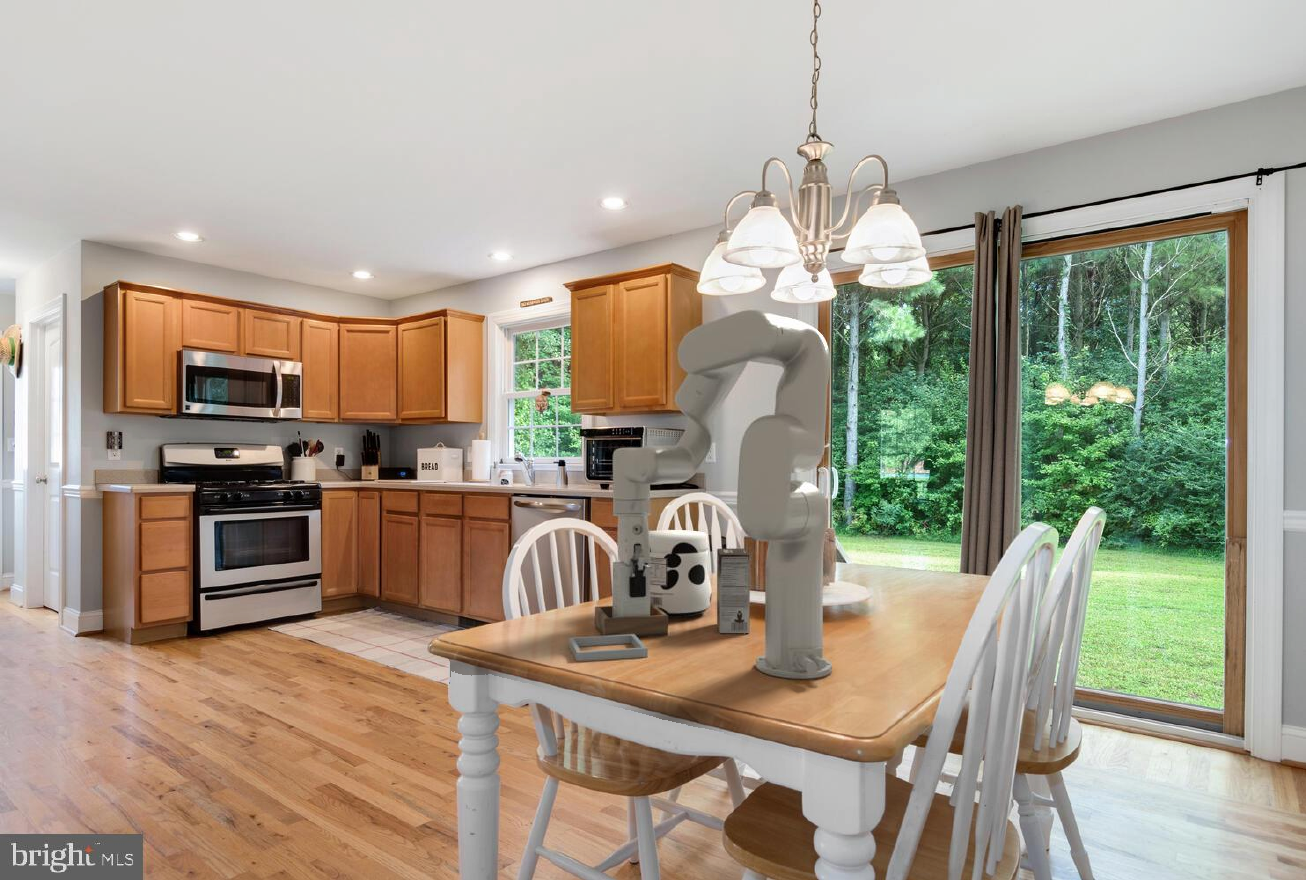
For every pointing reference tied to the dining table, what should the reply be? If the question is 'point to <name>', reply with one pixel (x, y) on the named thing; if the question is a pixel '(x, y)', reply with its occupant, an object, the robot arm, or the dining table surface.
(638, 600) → the small box
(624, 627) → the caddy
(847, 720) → the dining table surface
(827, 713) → the dining table surface
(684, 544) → the milk container
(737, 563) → the coffee box
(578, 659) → the tray
